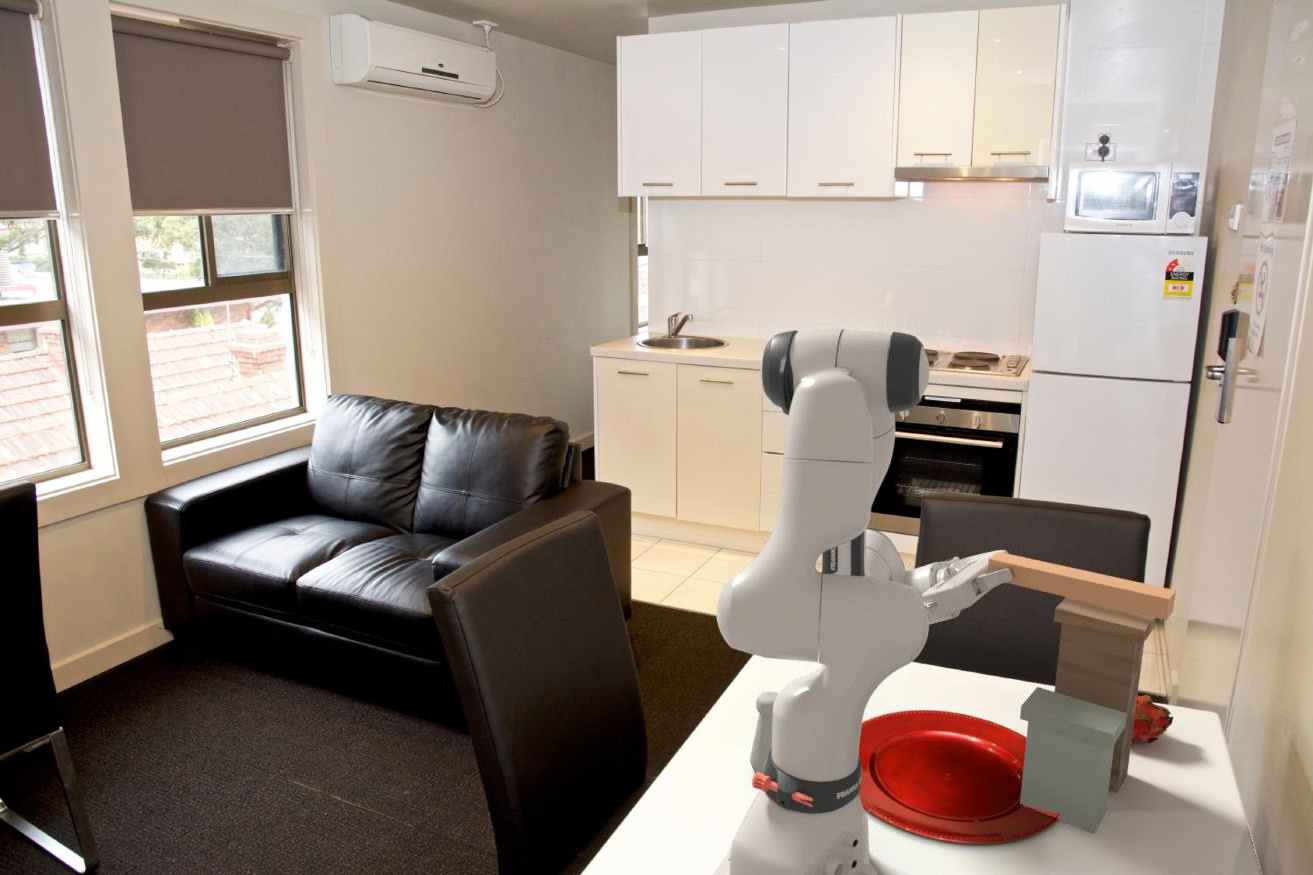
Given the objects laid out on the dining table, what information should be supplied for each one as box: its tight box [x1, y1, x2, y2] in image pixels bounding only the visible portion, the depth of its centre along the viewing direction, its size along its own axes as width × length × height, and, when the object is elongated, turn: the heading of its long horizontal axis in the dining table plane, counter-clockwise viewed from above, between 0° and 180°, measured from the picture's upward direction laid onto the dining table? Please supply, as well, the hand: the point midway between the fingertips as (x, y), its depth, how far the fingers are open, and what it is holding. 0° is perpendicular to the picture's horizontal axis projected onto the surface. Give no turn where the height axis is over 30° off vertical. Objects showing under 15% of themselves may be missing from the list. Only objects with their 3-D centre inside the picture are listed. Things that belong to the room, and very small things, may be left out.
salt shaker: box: [749, 691, 779, 775], centre depth 142 cm, size 6×6×13 cm
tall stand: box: [1053, 597, 1157, 793], centre depth 141 cm, size 7×12×26 cm, turn 51°
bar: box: [988, 552, 1177, 621], centre depth 135 cm, size 4×24×3 cm, turn 51°
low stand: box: [1019, 686, 1127, 834], centre depth 133 cm, size 7×12×16 cm, turn 51°
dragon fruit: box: [1131, 694, 1174, 745], centre depth 153 cm, size 8×8×12 cm
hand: (1018, 567), depth 140 cm, fingers closed on bar, 4 cm apart
